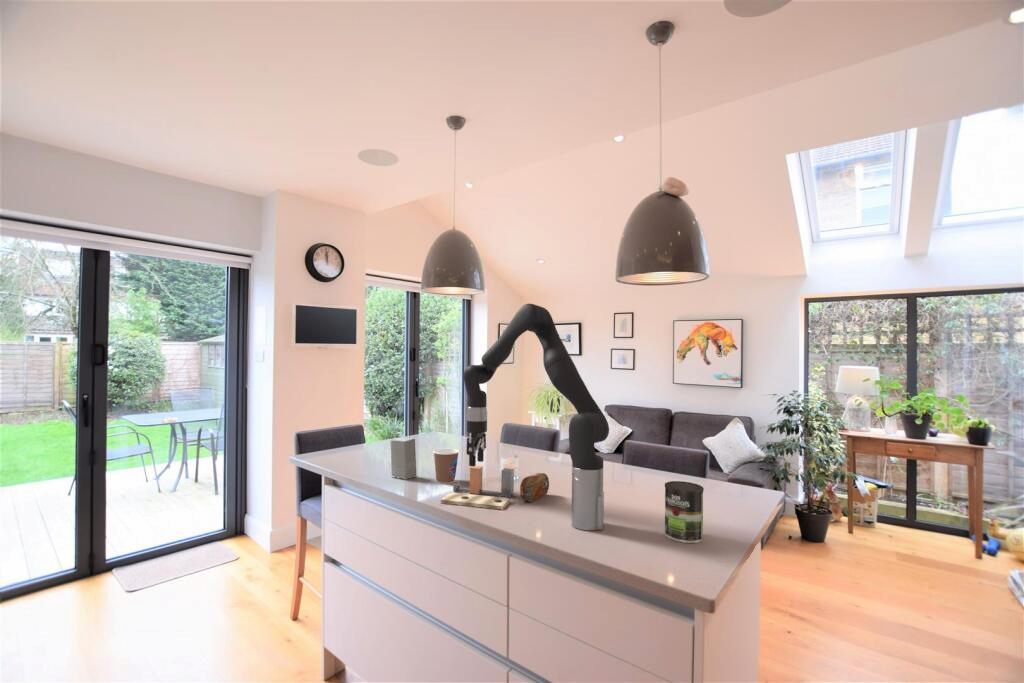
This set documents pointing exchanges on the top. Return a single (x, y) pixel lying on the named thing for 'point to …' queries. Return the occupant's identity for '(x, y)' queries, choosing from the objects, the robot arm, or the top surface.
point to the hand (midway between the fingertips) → (476, 463)
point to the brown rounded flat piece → (534, 487)
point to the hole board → (476, 500)
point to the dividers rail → (506, 485)
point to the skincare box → (403, 458)
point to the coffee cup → (445, 464)
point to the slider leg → (476, 479)
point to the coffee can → (684, 511)
